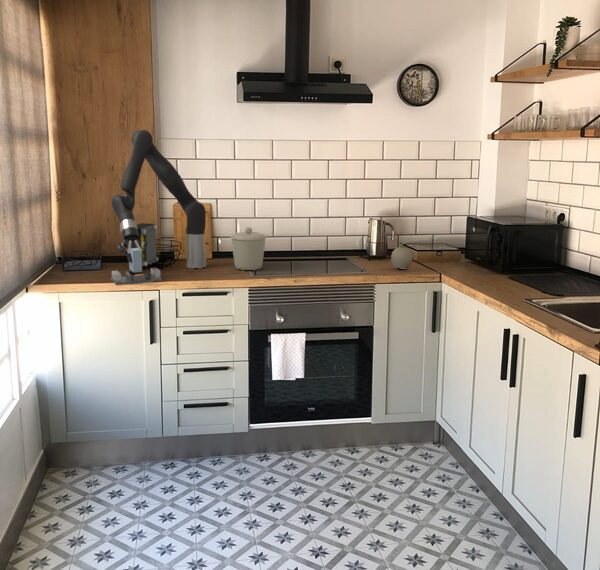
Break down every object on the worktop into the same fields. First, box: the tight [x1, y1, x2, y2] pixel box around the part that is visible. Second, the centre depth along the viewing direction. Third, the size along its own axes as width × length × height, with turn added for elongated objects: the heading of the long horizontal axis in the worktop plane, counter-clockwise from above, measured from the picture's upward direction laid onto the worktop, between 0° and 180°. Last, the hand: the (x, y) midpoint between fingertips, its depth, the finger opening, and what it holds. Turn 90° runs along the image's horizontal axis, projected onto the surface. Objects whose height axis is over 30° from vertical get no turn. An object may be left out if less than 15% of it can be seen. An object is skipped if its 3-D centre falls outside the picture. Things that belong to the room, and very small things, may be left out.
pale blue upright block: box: [128, 248, 143, 272], centre depth 321 cm, size 8×4×10 cm, turn 26°
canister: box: [229, 226, 268, 271], centre depth 350 cm, size 18×18×21 cm
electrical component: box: [136, 222, 159, 267], centre depth 356 cm, size 18×10×20 cm, turn 168°
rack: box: [110, 267, 163, 286], centre depth 322 cm, size 12×21×4 cm, turn 116°
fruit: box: [390, 241, 413, 269], centre depth 356 cm, size 10×12×15 cm
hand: (136, 261), depth 319 cm, fingers closed on pale blue upright block, 4 cm apart
